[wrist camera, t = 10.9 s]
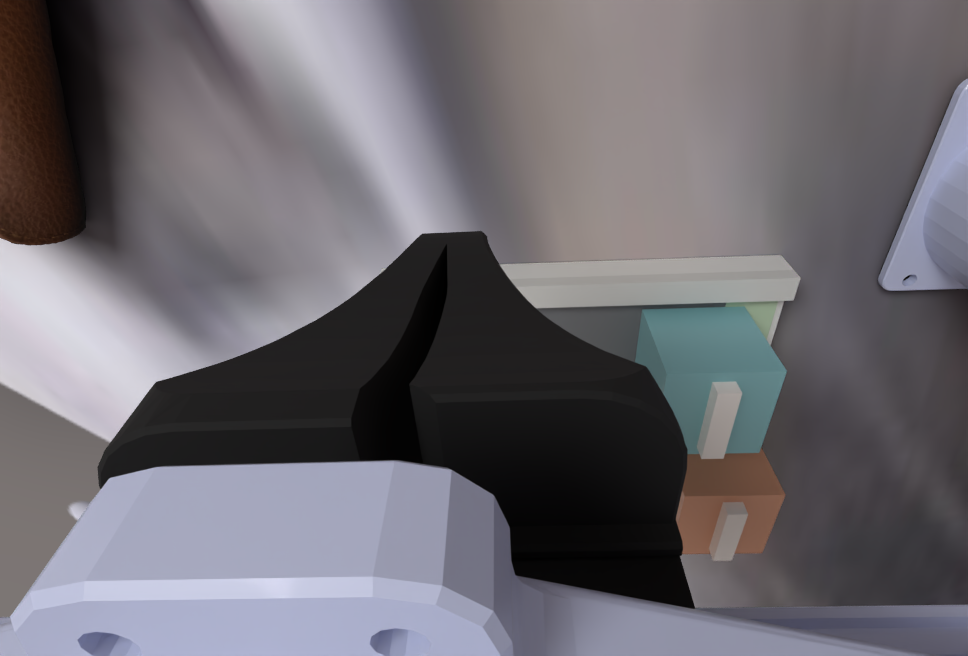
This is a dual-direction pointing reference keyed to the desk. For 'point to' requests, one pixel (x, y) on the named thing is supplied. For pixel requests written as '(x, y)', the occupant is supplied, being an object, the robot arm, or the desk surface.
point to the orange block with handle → (728, 505)
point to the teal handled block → (713, 375)
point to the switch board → (651, 292)
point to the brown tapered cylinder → (34, 133)
